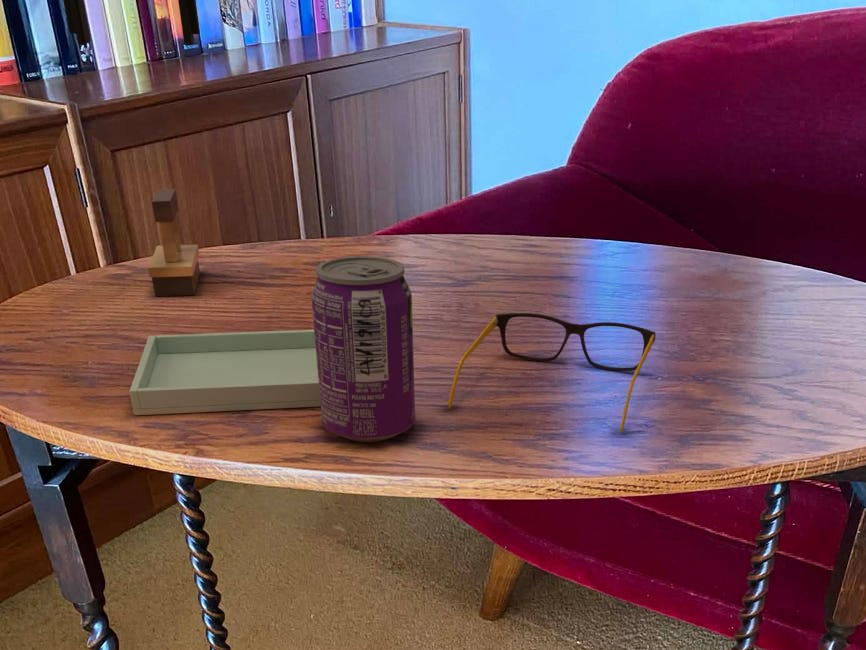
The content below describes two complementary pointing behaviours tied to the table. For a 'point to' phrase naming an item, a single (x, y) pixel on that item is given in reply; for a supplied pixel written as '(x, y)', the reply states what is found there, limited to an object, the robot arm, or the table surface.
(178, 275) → the brush
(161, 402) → the tray
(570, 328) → the eyeglasses
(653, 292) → the table surface
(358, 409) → the beverage can
